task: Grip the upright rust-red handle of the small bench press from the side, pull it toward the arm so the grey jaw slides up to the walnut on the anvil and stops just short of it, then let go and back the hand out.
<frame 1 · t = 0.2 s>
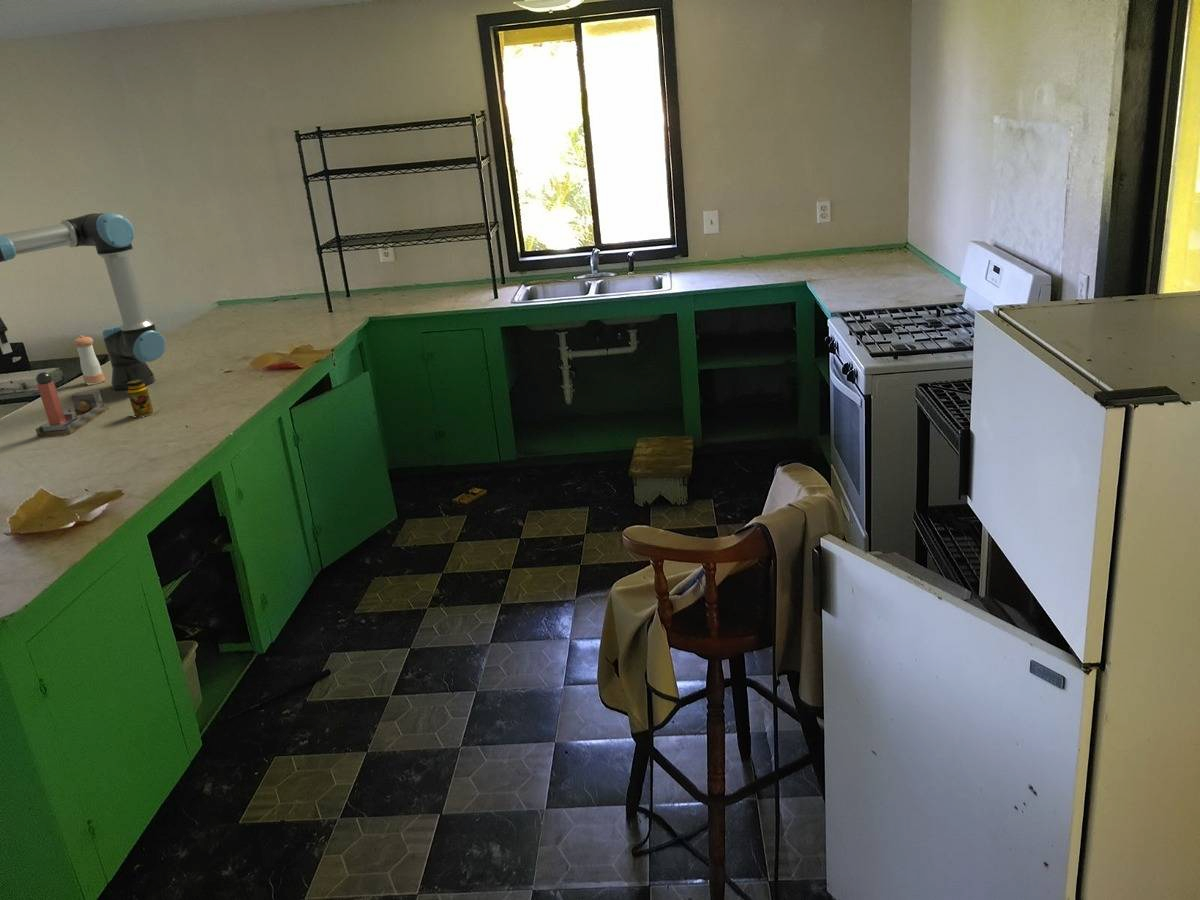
condiment: (143, 414, 323), on the worktop
pepper shaker: (95, 383, 371), on the worktop
press base: (74, 422, 321), on the worktop
handle carriage: (53, 398, 310), point 11 cm above the worktop, slide at 0.0 cm
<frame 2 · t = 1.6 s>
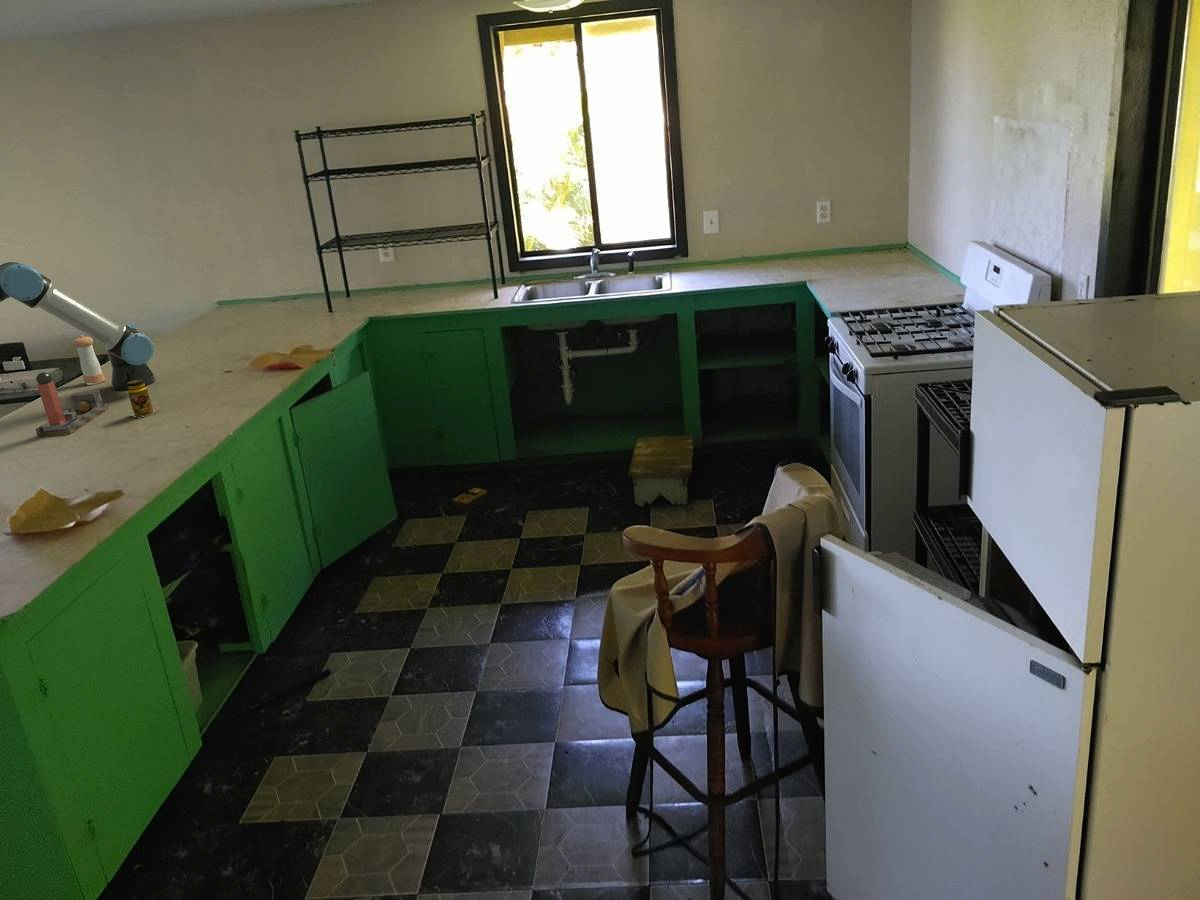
hand: (11, 370, 305), 22 cm above the worktop, tool horizontal, fingers open, 13 cm apart
nothing on the worktop moved.
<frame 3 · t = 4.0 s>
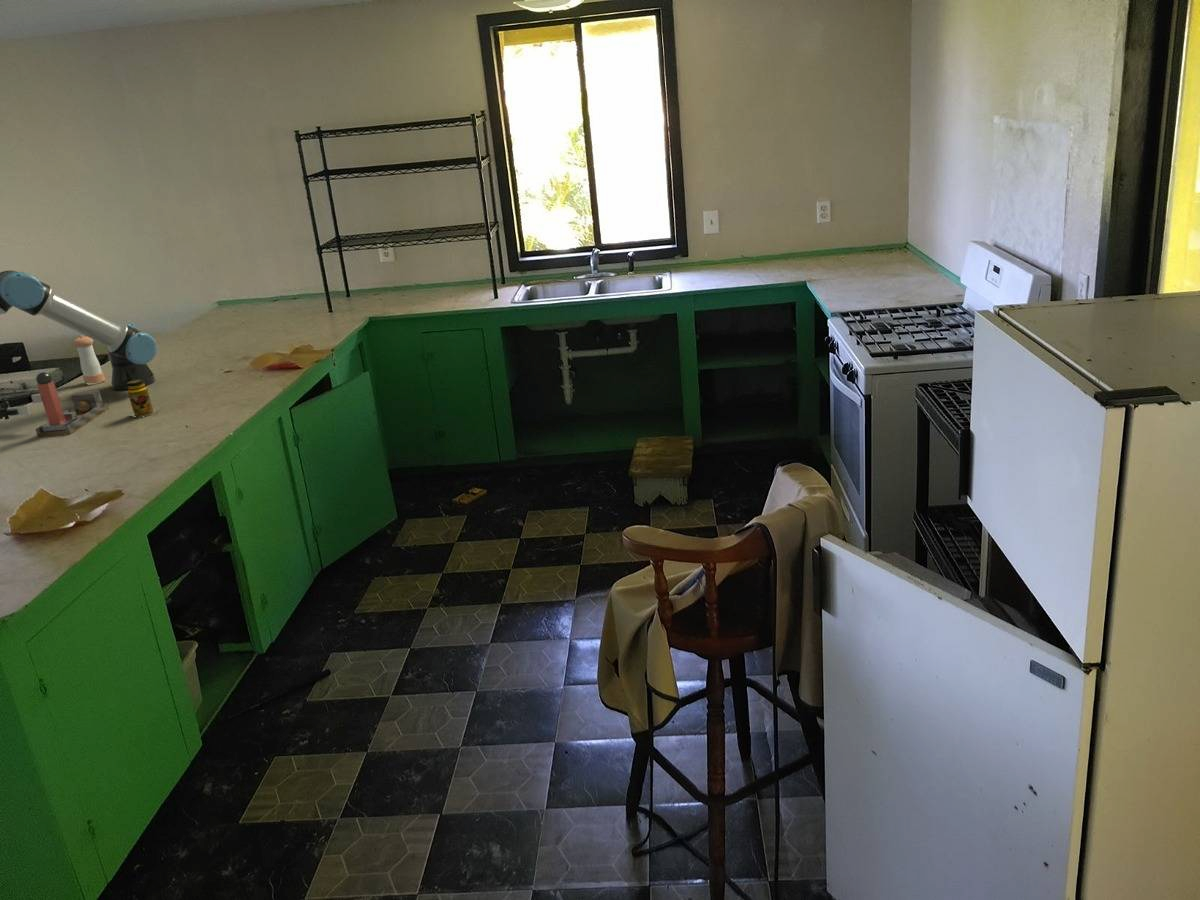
hand: (40, 403, 308), 10 cm above the worktop, tool horizontal, fingers open, 13 cm apart
nothing on the worktop moved.
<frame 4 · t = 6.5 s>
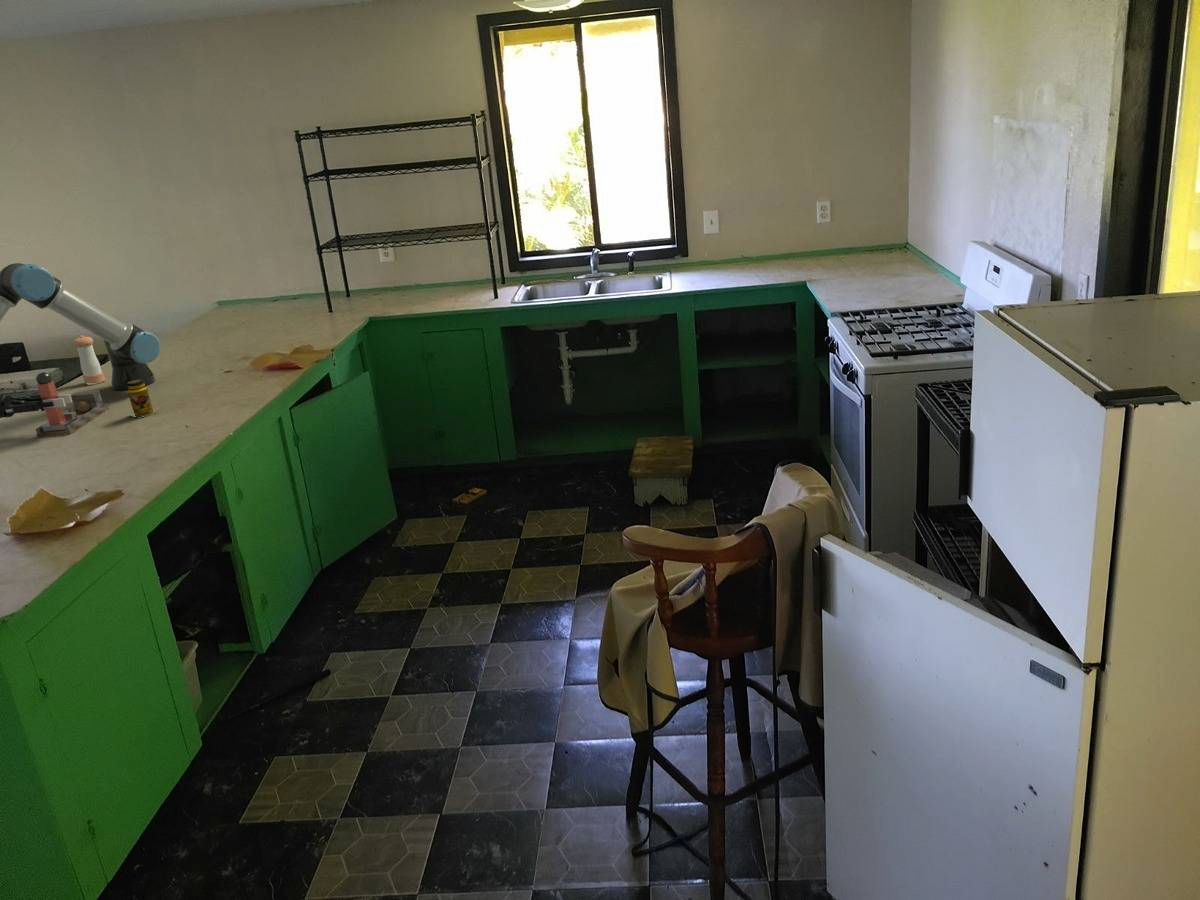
hand: (67, 400, 308), 10 cm above the worktop, tool horizontal, fingers closed on handle carriage, 3 cm apart
handle carriage: (53, 398, 310), point 11 cm above the worktop, slide at 0.0 cm, touching gripper
everything else where it was.
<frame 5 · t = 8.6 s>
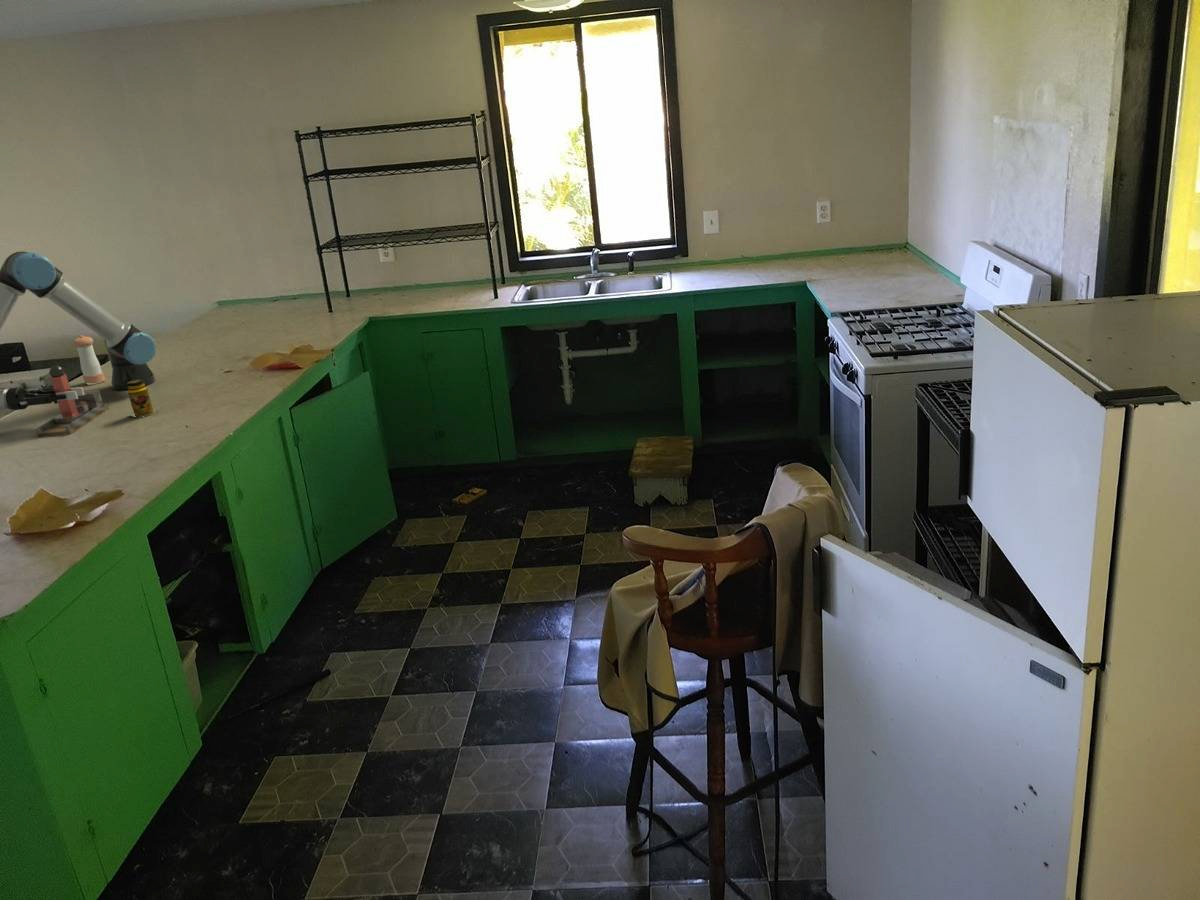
hand: (79, 393, 316), 10 cm above the worktop, tool horizontal, fingers closed on handle carriage, 3 cm apart
handle carriage: (65, 391, 317), point 11 cm above the worktop, slide at 7.9 cm, touching gripper
everything else where it was.
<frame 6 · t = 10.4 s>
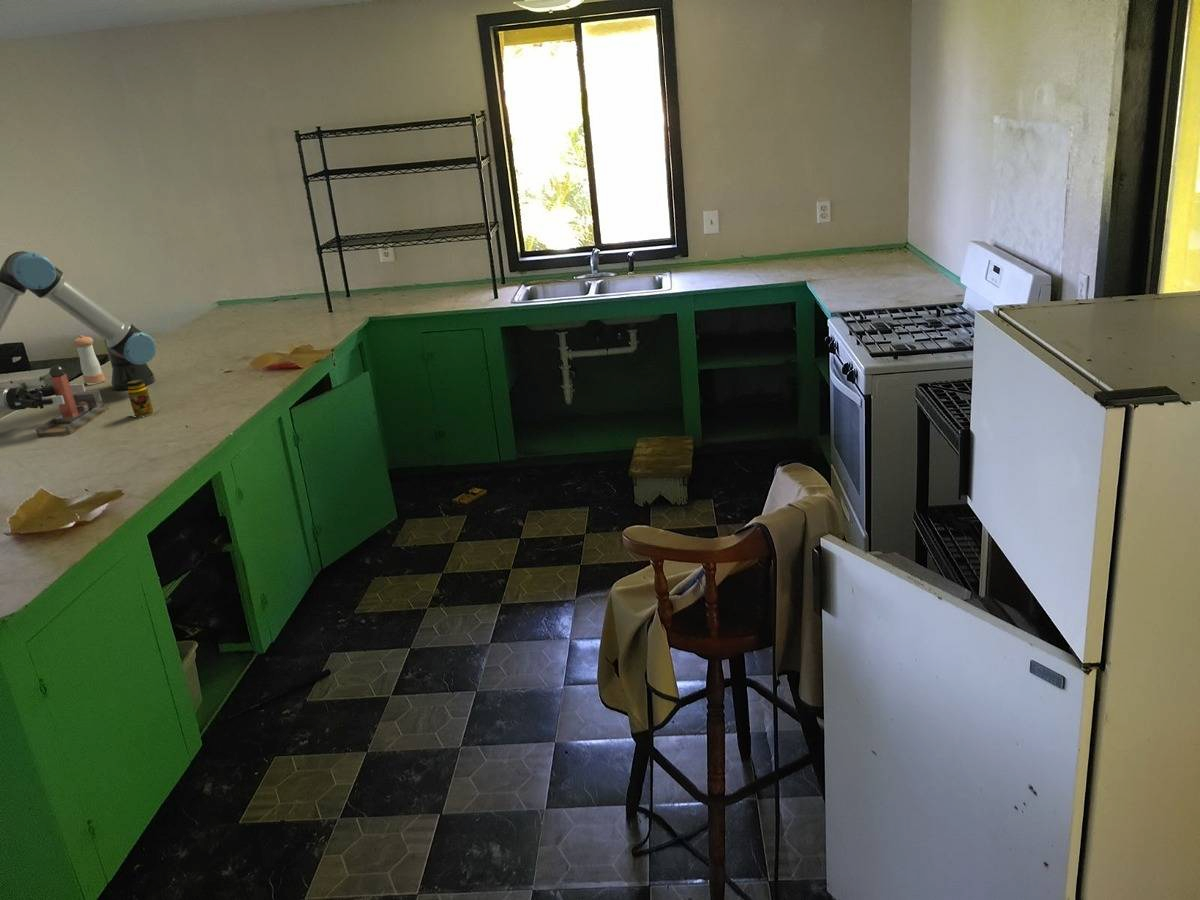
hand: (73, 393, 316), 10 cm above the worktop, tool horizontal, fingers open, 13 cm apart
handle carriage: (66, 391, 317), point 11 cm above the worktop, slide at 8.0 cm
everything else where it was.
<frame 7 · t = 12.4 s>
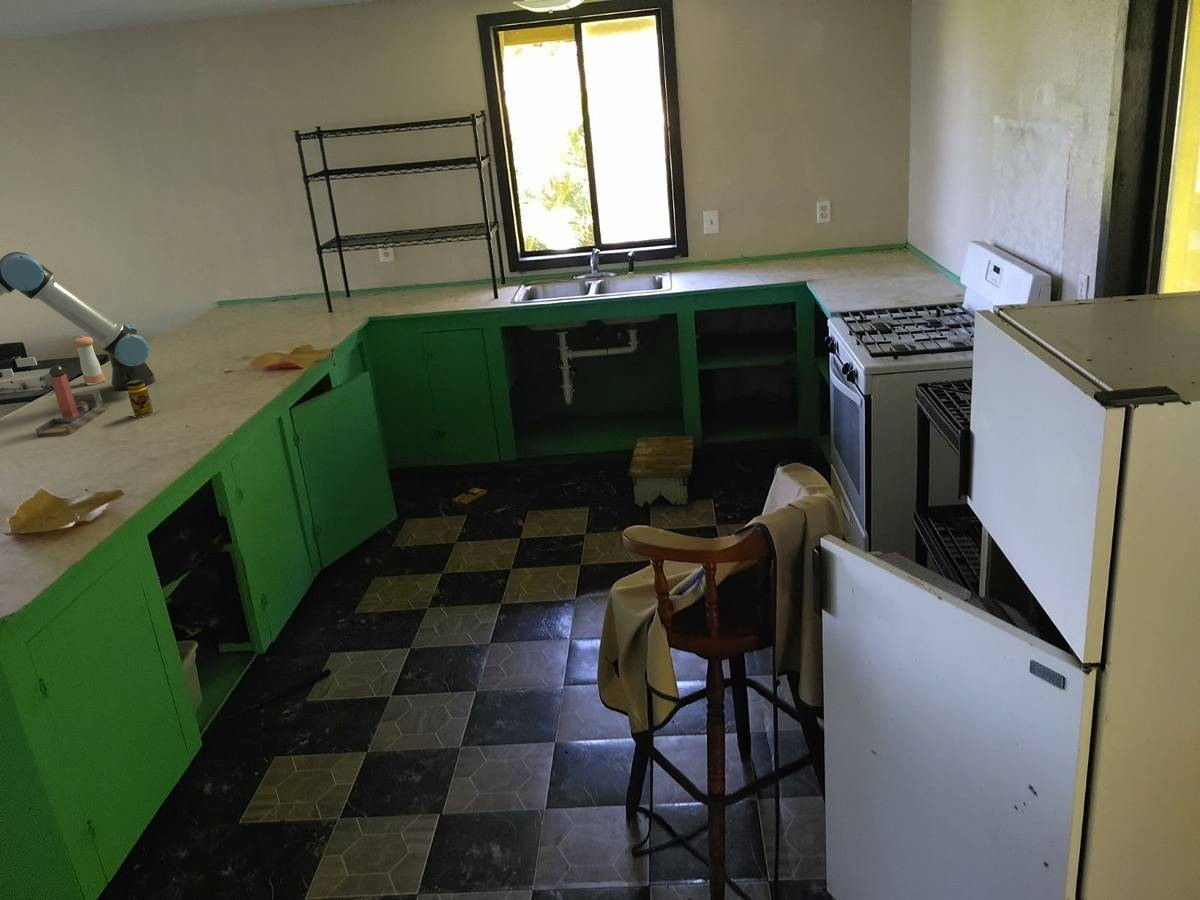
hand: (24, 366, 312), 21 cm above the worktop, tool horizontal, fingers open, 13 cm apart
nothing on the worktop moved.
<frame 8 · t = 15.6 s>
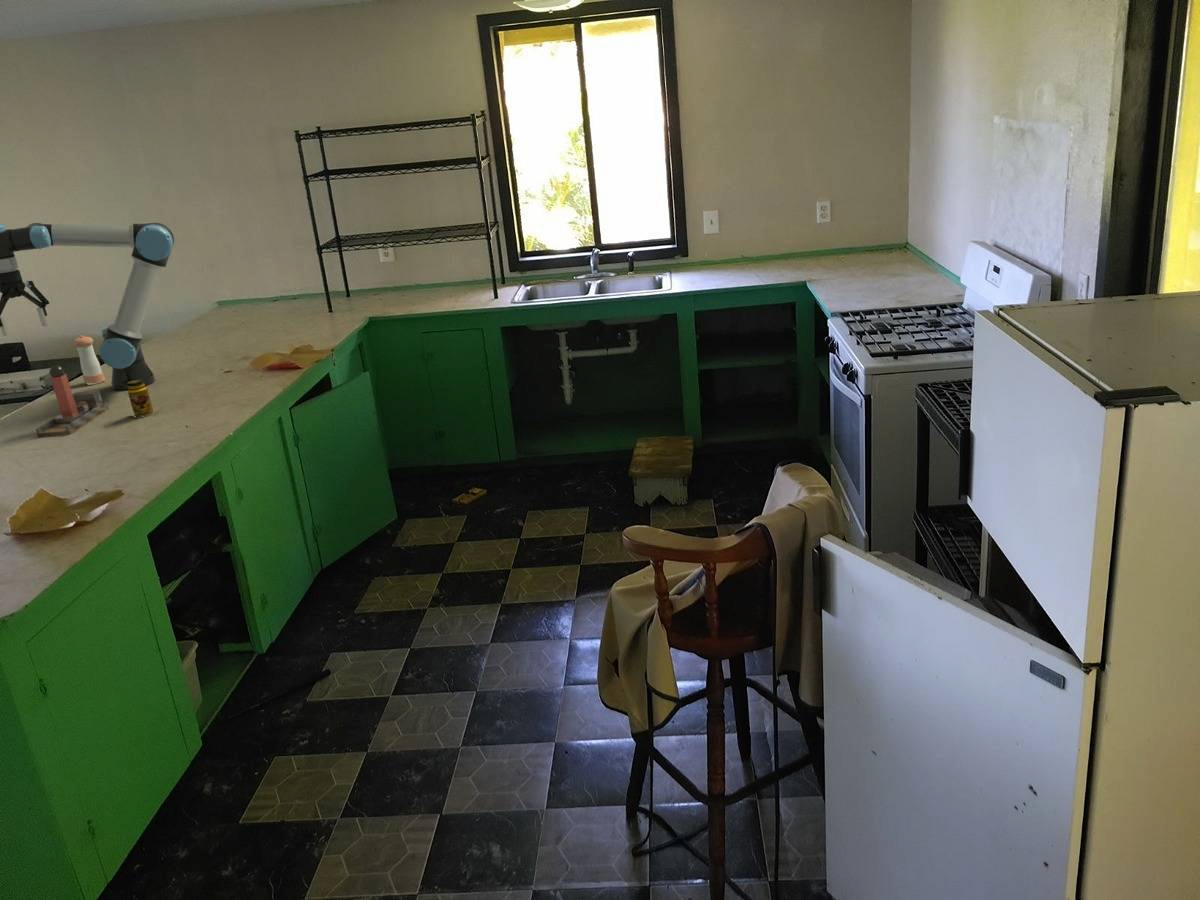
hand: (25, 330, 332), 29 cm above the worktop, tool pointing down, fingers open, 13 cm apart
nothing on the worktop moved.
at the end: handle carriage slide at 8.0 cm; the gripper is holding nothing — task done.
